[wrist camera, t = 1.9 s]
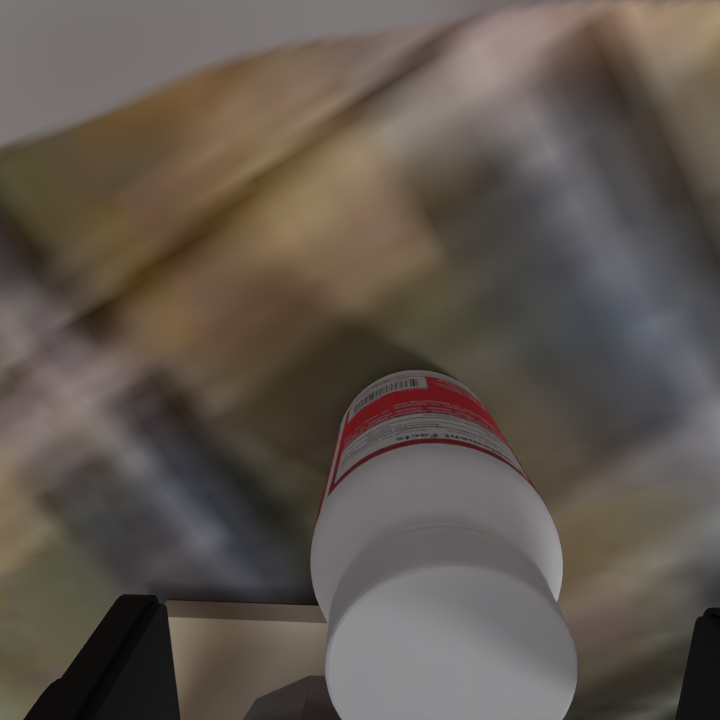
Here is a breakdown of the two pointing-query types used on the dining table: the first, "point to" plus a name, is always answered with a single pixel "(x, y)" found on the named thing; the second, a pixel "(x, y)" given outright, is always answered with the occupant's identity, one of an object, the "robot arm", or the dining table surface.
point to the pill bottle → (437, 565)
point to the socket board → (249, 661)
